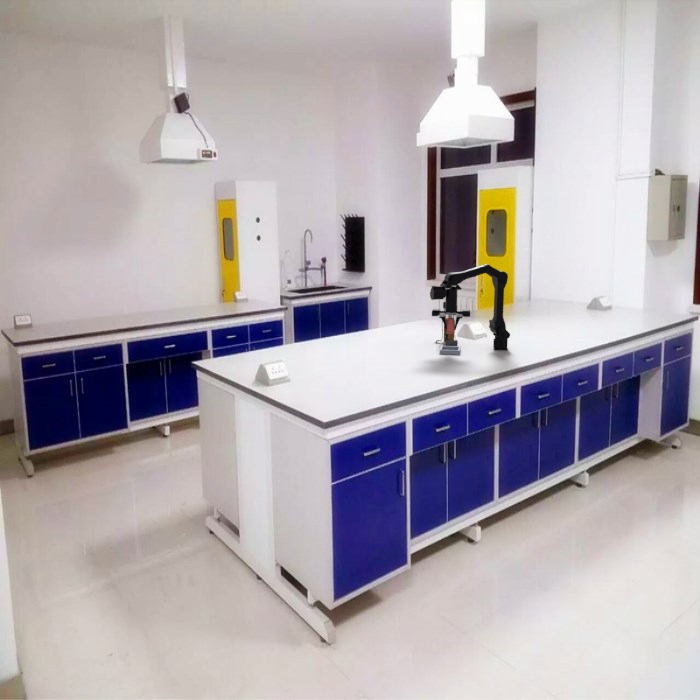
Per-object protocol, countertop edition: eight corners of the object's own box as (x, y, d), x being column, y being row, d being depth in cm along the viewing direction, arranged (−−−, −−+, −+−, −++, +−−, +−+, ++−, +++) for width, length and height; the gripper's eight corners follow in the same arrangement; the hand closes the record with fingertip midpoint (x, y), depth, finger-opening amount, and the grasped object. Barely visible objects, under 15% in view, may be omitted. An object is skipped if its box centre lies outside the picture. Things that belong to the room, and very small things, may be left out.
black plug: (457, 344, 326) (457, 348, 329) (457, 338, 328) (457, 342, 331) (442, 344, 328) (443, 347, 331) (443, 338, 330) (443, 342, 333)
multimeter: (428, 341, 343) (428, 305, 338) (445, 340, 346) (445, 303, 341) (440, 347, 329) (440, 309, 325) (457, 345, 332) (458, 307, 328)
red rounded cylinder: (454, 332, 317) (455, 314, 315) (454, 334, 313) (454, 316, 311) (446, 332, 318) (447, 314, 316) (446, 333, 314) (446, 316, 312)
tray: (460, 350, 321) (460, 346, 321) (459, 354, 312) (460, 350, 311) (440, 349, 323) (440, 345, 323) (439, 354, 314) (439, 350, 313)
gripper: (470, 296, 317) (470, 327, 321) (433, 296, 321) (433, 326, 324) (470, 300, 307) (469, 331, 310) (431, 299, 310) (431, 330, 314)
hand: (450, 329), depth 315 cm, fingers closed on red rounded cylinder, 4 cm apart
